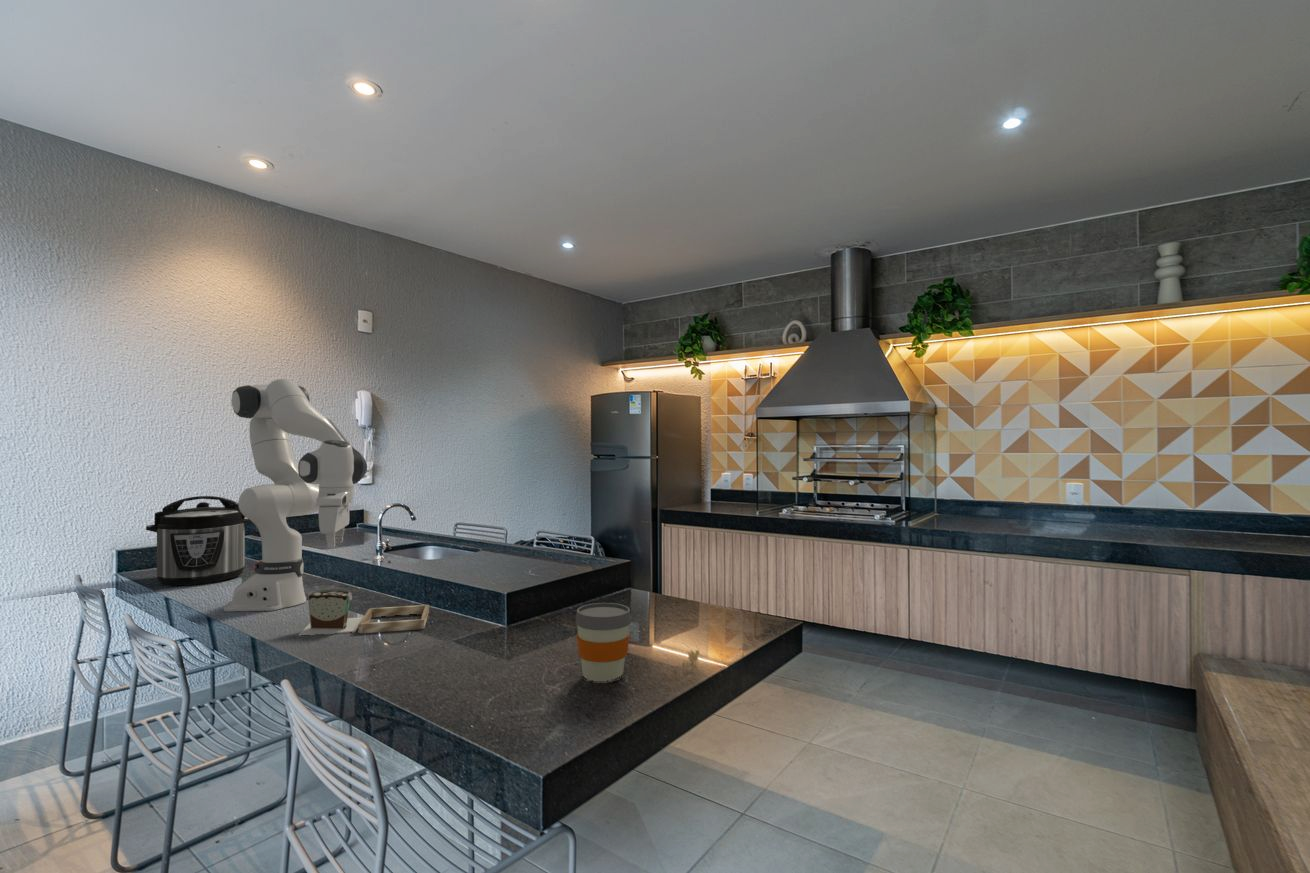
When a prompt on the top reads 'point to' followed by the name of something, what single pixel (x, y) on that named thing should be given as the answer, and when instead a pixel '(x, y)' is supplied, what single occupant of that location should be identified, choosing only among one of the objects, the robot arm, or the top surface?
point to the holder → (393, 625)
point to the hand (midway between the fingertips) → (335, 545)
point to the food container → (329, 608)
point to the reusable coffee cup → (603, 639)
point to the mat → (351, 627)
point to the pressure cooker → (199, 542)
